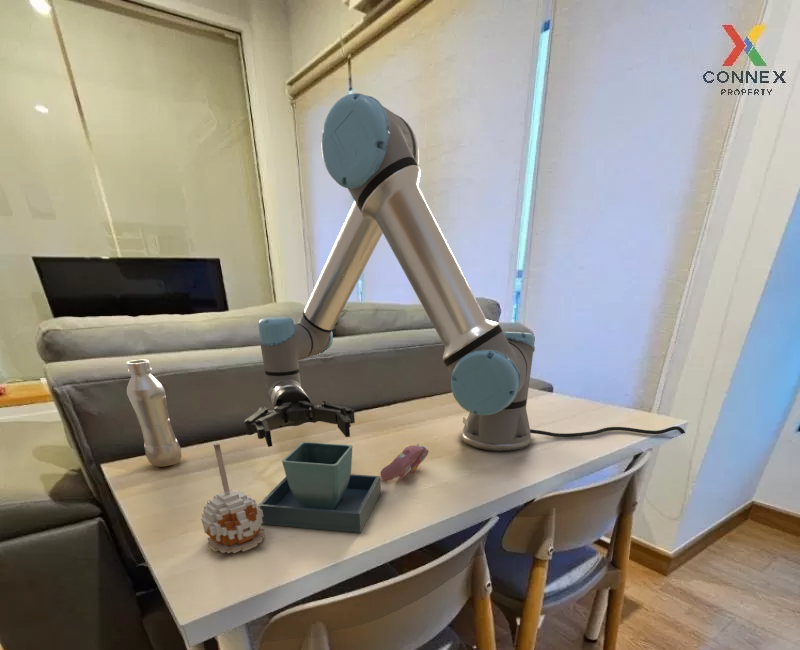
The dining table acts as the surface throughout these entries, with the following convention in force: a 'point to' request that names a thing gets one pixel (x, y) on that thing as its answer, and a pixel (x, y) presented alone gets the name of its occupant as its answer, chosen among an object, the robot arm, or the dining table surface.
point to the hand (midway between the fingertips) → (309, 434)
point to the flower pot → (318, 473)
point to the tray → (344, 517)
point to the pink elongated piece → (404, 462)
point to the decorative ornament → (232, 517)
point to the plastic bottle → (152, 415)
